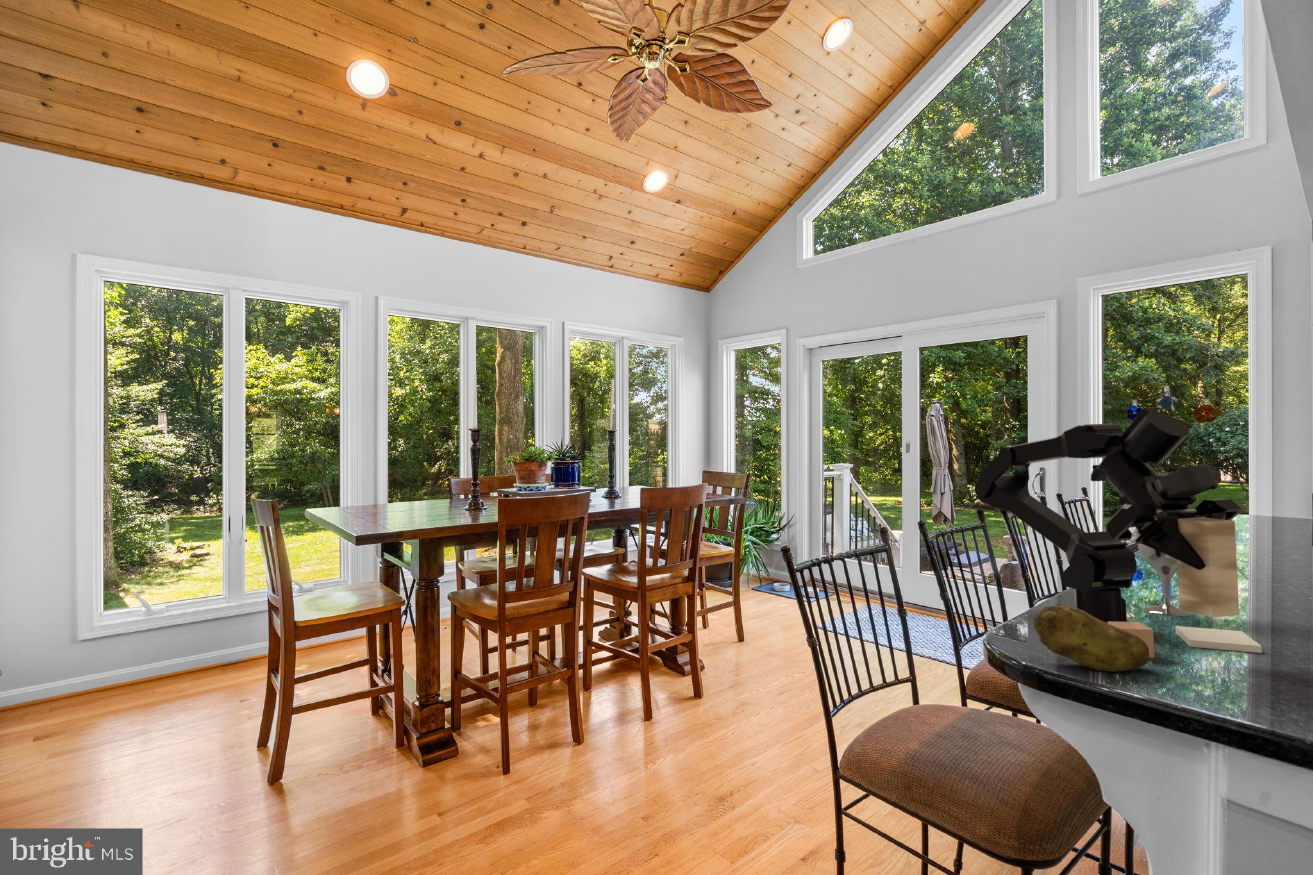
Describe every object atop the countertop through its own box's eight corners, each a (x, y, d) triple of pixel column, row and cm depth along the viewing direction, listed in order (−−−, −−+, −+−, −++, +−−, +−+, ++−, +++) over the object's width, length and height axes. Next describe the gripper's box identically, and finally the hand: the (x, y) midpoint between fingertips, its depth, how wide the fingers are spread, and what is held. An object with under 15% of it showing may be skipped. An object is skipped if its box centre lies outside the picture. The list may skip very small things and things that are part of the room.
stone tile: (1189, 646, 92) (1189, 639, 92) (1175, 632, 100) (1175, 625, 100) (1261, 653, 89) (1261, 646, 89) (1241, 637, 96) (1241, 631, 96)
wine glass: (1209, 616, 108) (1204, 529, 108) (1163, 617, 108) (1158, 530, 108) (1172, 605, 116) (1167, 524, 116) (1129, 606, 116) (1124, 525, 116)
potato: (1149, 685, 79) (1145, 621, 79) (1031, 666, 87) (1028, 608, 87) (1150, 666, 85) (1147, 607, 85) (1041, 650, 93) (1038, 596, 93)
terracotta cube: (1122, 656, 89) (1121, 628, 90) (1109, 648, 93) (1107, 621, 93) (1154, 657, 89) (1153, 629, 89) (1139, 649, 92) (1138, 622, 93)
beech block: (1179, 609, 89) (1175, 518, 90) (1205, 607, 90) (1200, 517, 90) (1212, 617, 85) (1208, 522, 85) (1239, 614, 86) (1234, 520, 86)
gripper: (1119, 448, 90) (1203, 534, 79) (1224, 445, 94) (1318, 526, 83) (1076, 499, 98) (1146, 584, 87) (1174, 493, 101) (1254, 575, 90)
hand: (1217, 566), depth 86 cm, fingers closed on beech block, 4 cm apart
